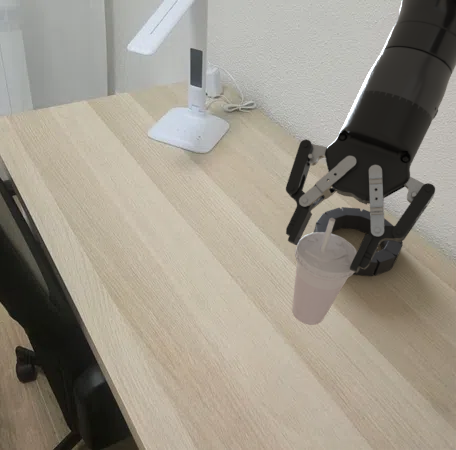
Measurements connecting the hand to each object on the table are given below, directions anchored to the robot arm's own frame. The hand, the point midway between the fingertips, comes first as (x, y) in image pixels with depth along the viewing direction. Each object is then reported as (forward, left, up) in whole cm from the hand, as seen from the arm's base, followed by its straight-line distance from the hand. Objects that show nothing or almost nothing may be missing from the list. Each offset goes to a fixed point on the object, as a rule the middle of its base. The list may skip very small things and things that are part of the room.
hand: (322, 256), depth 56 cm
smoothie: (0, -2, -10) cm, 11 cm away
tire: (+1, -33, -24) cm, 41 cm away
